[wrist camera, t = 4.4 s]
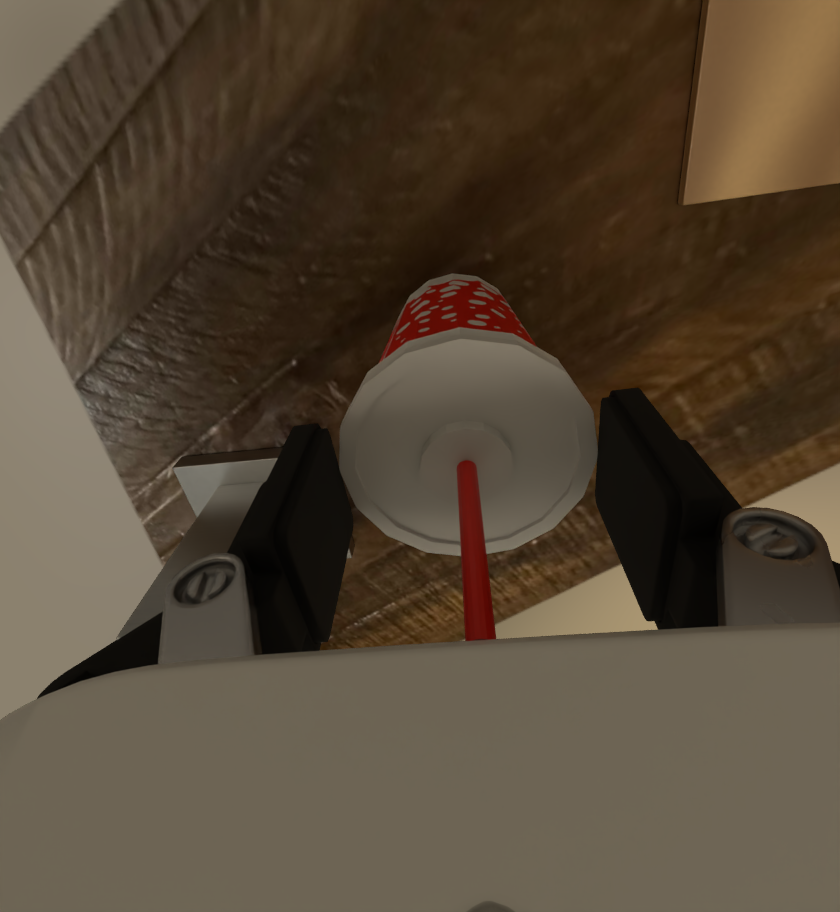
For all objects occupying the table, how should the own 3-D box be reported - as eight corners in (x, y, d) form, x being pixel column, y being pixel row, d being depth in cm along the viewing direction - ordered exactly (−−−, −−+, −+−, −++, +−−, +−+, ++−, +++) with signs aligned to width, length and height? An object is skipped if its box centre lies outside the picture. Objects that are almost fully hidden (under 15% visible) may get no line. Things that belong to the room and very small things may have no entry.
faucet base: (325, 442, 28) (258, 605, 19) (355, 545, 33) (312, 721, 23) (181, 456, 30) (44, 616, 20) (227, 553, 34) (134, 726, 24)
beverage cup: (460, 430, 22) (486, 784, 10) (345, 342, 20) (206, 656, 8) (568, 326, 19) (781, 640, 7) (449, 211, 17) (472, 388, 5)
